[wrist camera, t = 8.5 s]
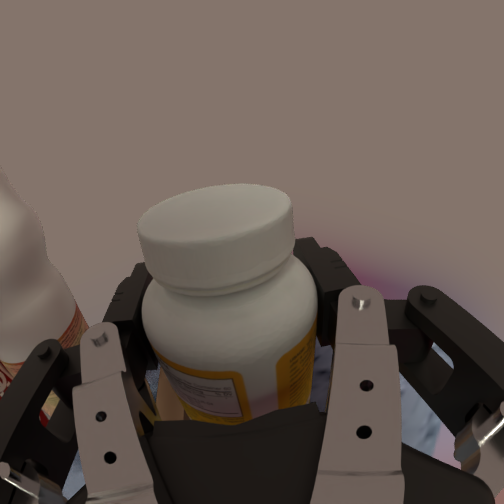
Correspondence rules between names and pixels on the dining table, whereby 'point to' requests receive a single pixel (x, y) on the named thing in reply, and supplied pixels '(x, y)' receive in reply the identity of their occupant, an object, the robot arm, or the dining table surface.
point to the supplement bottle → (229, 302)
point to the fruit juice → (31, 289)
